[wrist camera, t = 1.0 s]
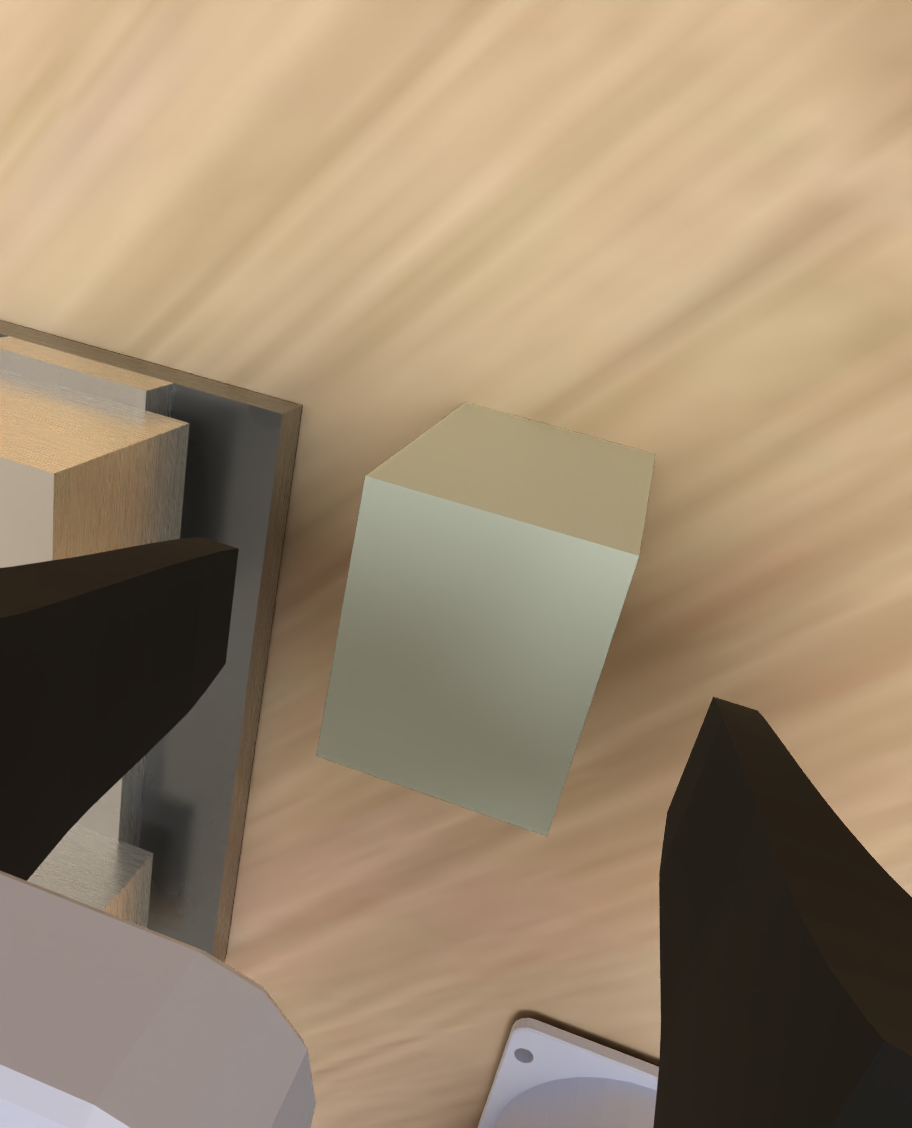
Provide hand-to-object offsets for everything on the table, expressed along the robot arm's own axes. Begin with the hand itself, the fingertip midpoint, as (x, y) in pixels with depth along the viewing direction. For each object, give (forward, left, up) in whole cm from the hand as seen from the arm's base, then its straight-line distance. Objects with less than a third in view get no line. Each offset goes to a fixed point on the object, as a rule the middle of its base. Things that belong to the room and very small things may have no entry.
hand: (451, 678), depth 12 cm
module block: (0, 0, -7) cm, 7 cm away
